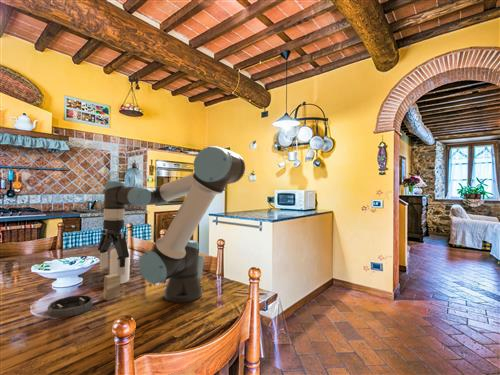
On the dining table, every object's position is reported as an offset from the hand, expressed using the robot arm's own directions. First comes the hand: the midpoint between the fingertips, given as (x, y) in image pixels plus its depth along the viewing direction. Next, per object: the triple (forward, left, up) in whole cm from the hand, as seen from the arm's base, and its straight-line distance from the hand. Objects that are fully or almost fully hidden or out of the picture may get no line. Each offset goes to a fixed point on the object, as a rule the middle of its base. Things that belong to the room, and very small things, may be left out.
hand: (111, 271), depth 104 cm
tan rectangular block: (0, 0, -10) cm, 10 cm away
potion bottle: (+15, -11, -11) cm, 21 cm away
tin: (+1, +14, -10) cm, 17 cm away
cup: (-9, -37, -11) cm, 40 cm away
